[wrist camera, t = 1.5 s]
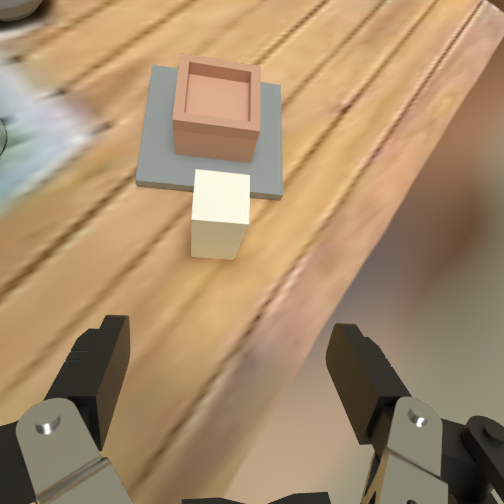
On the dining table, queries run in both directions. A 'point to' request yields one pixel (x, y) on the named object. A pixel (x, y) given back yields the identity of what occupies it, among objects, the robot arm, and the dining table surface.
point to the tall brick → (219, 213)
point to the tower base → (211, 126)
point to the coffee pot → (17, 9)
